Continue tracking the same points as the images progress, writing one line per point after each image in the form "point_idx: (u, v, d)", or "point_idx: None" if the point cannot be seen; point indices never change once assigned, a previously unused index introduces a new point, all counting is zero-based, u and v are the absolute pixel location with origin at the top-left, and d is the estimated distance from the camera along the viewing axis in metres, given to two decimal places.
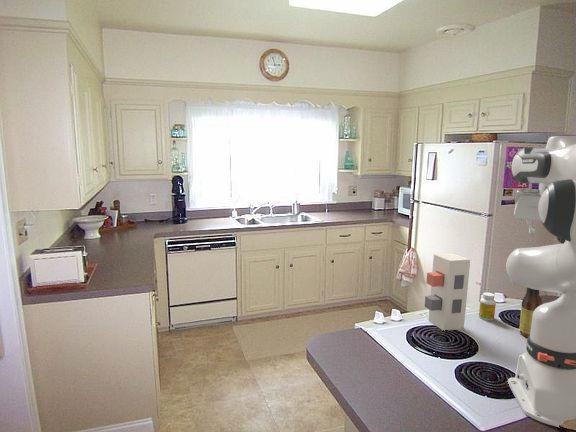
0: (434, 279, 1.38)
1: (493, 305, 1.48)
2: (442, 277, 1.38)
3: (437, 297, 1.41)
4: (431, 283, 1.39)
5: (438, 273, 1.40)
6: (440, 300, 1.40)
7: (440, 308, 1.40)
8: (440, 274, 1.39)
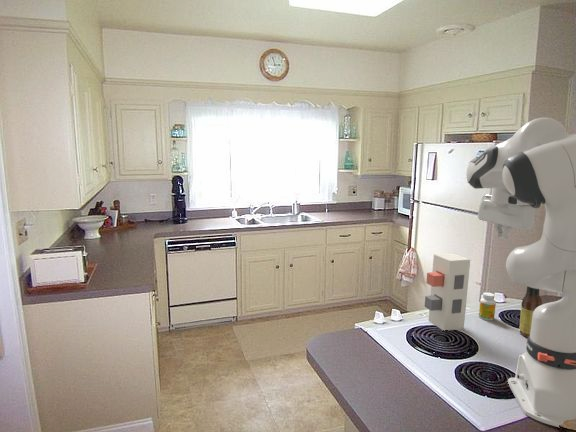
0: (434, 279, 1.38)
1: (493, 305, 1.48)
2: (442, 277, 1.38)
3: (437, 297, 1.41)
4: (431, 283, 1.39)
5: (438, 273, 1.40)
6: (440, 300, 1.40)
7: (440, 308, 1.40)
8: (440, 274, 1.39)
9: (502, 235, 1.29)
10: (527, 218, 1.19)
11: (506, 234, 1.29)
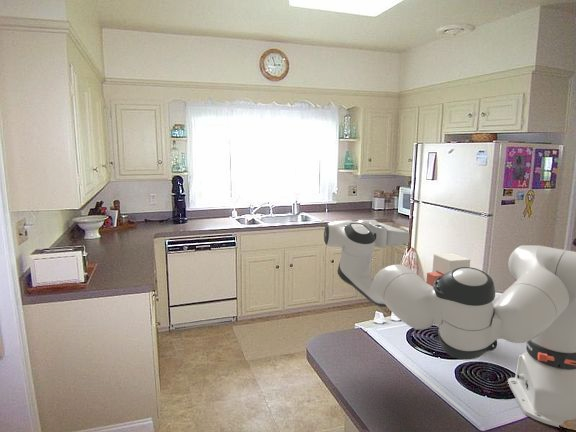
0: (434, 279, 1.38)
1: None
2: None
3: None
4: (431, 283, 1.39)
5: (438, 273, 1.40)
6: None
7: None
8: (440, 274, 1.39)
9: None
10: (400, 241, 1.22)
11: (404, 231, 1.32)
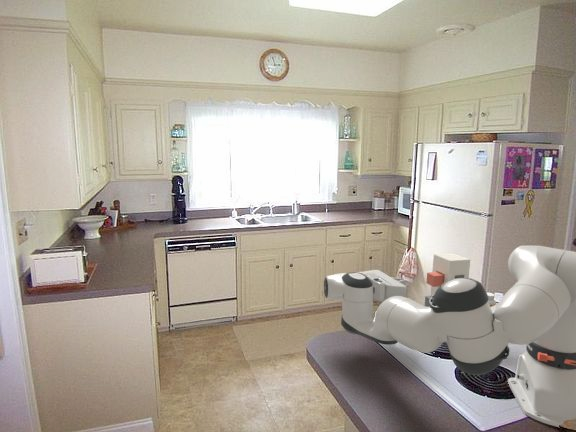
0: (434, 279, 1.38)
1: (493, 305, 1.48)
2: (442, 277, 1.38)
3: None
4: (431, 283, 1.39)
5: (438, 273, 1.40)
6: None
7: None
8: (440, 274, 1.39)
9: None
10: (397, 296, 1.25)
11: (402, 282, 1.35)
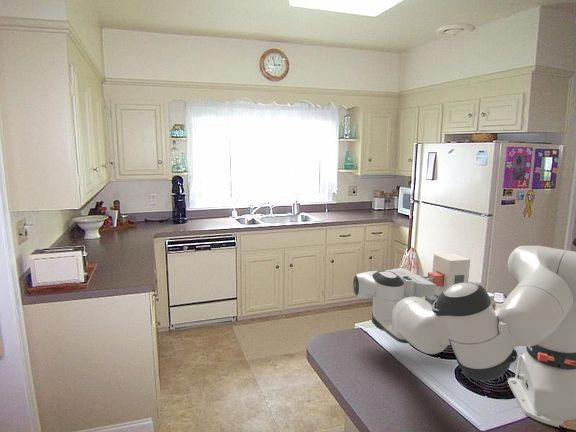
0: (435, 279, 1.38)
1: (493, 305, 1.48)
2: (443, 277, 1.38)
3: (437, 297, 1.41)
4: None
5: (439, 273, 1.40)
6: None
7: None
8: (441, 274, 1.39)
9: None
10: (427, 293, 1.28)
11: (429, 280, 1.38)
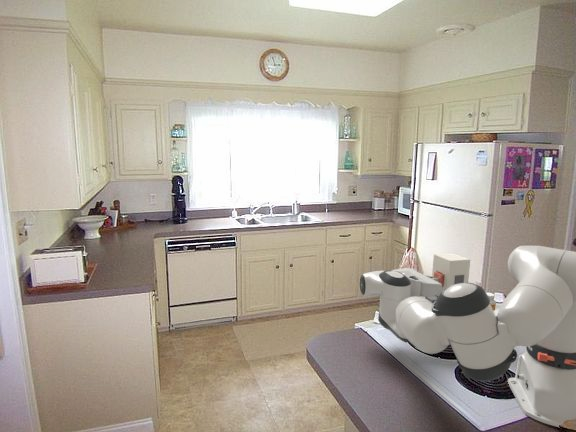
0: (442, 279, 1.38)
1: (493, 305, 1.48)
2: None
3: (437, 297, 1.41)
4: None
5: None
6: None
7: None
8: None
9: None
10: (433, 293, 1.29)
11: (435, 280, 1.38)
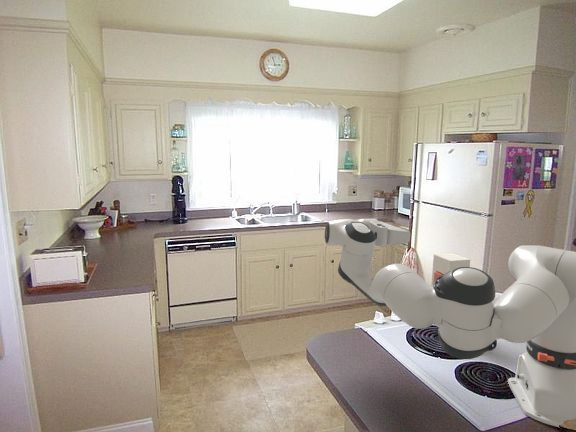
0: None
1: None
2: None
3: None
4: None
5: None
6: None
7: None
8: None
9: None
10: (400, 241, 1.22)
11: (405, 231, 1.32)
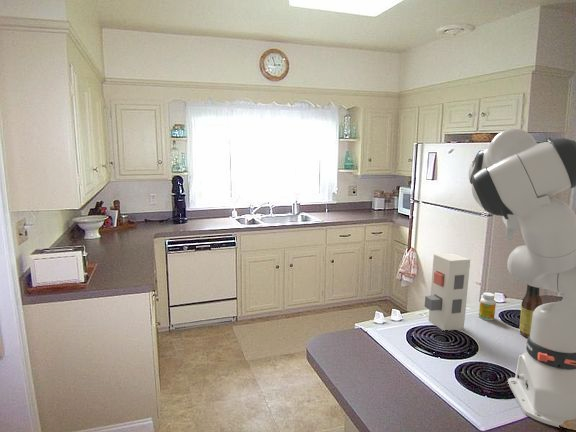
0: (442, 279, 1.38)
1: (493, 305, 1.48)
2: None
3: (437, 297, 1.41)
4: (438, 282, 1.40)
5: None
6: (440, 300, 1.40)
7: (440, 308, 1.40)
8: None
9: (506, 236, 1.28)
10: (510, 218, 1.20)
11: (510, 235, 1.28)
